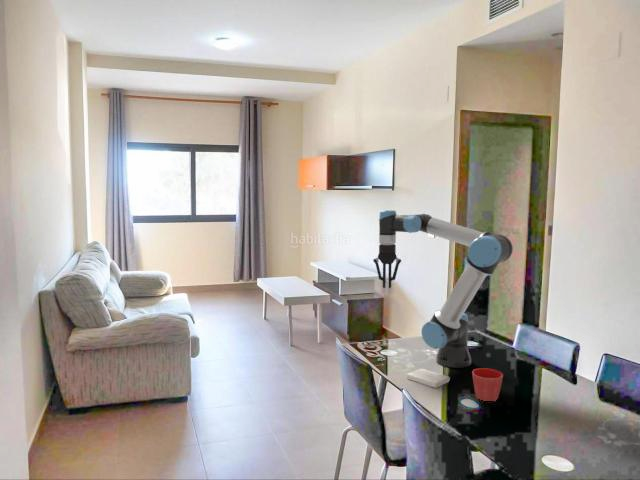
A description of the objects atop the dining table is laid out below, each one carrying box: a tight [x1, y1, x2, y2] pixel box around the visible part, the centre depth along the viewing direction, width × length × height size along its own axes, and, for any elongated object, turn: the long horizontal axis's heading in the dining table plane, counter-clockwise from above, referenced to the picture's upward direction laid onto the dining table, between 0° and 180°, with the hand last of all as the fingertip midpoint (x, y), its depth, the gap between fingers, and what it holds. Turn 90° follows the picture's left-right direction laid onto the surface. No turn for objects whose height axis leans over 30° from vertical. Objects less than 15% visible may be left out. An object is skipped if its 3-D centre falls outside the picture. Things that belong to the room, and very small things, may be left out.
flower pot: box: [471, 367, 504, 402], centre depth 188 cm, size 11×11×10 cm
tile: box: [406, 367, 451, 389], centre depth 207 cm, size 10×2×14 cm
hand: (386, 294), depth 235 cm, fingers closed
